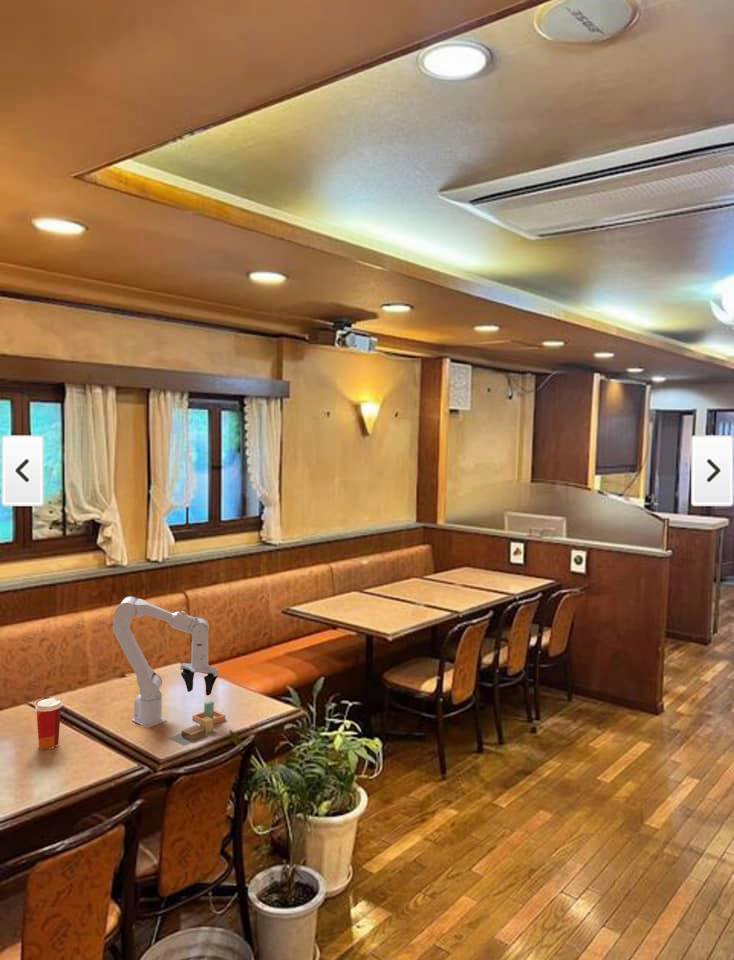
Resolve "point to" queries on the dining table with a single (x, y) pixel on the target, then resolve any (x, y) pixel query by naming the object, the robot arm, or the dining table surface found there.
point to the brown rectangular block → (193, 732)
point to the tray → (216, 717)
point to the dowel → (208, 709)
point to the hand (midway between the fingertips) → (199, 692)
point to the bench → (204, 723)
